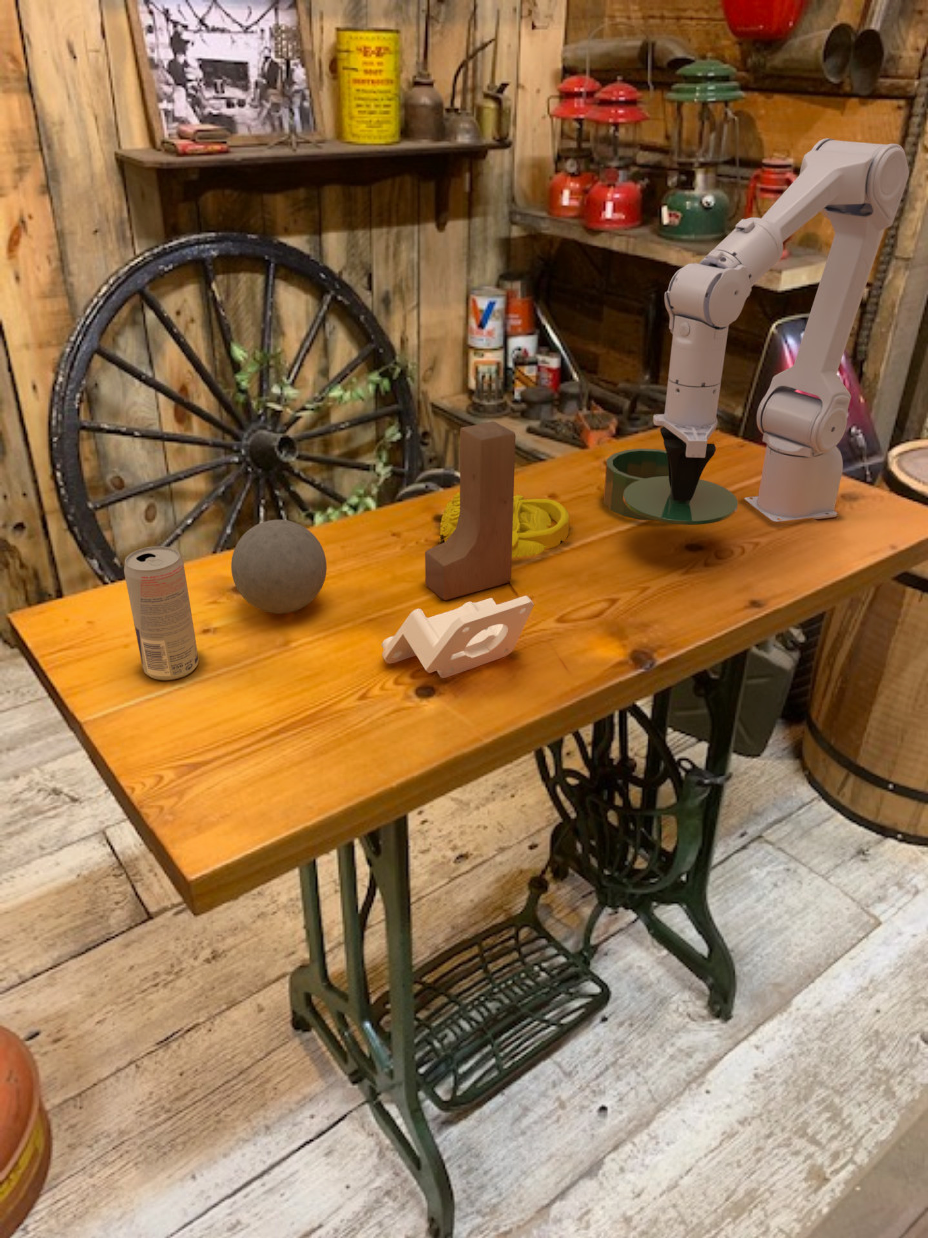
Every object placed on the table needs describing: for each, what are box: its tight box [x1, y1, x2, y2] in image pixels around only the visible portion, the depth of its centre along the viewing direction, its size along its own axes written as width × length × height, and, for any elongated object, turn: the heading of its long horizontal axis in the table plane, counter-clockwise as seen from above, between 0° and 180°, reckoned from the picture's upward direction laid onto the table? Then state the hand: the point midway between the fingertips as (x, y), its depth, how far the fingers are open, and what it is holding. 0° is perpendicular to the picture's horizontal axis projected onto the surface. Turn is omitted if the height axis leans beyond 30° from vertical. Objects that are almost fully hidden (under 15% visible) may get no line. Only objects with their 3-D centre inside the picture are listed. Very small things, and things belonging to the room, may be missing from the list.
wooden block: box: [424, 421, 517, 601], centre depth 108 cm, size 9×4×18 cm, turn 120°
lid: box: [623, 476, 739, 526], centre depth 115 cm, size 13×13×4 cm
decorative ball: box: [230, 519, 327, 615], centre depth 105 cm, size 10×10×10 cm
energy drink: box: [123, 545, 200, 681], centre depth 94 cm, size 5×5×12 cm
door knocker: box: [439, 492, 570, 559], centre depth 123 cm, size 16×16×4 cm
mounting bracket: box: [381, 595, 535, 679], centre depth 95 cm, size 12×6×11 cm, turn 123°
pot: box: [603, 448, 669, 522], centre depth 130 cm, size 12×12×6 cm
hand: (680, 493), depth 115 cm, fingers closed on lid, 2 cm apart
